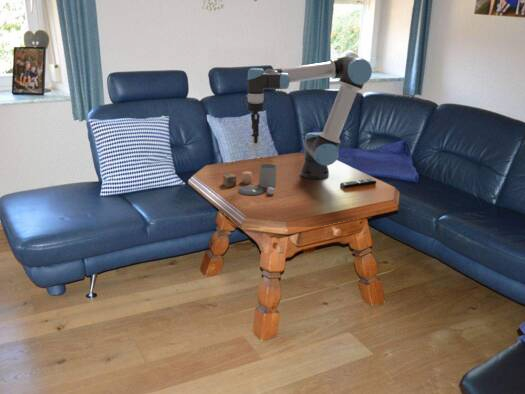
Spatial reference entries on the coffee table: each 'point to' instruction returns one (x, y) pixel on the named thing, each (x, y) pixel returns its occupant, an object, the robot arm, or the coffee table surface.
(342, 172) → the coffee table surface
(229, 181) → the walnut block
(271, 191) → the grey ball
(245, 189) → the coaster
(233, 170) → the coffee table surface
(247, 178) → the peach capsule shape
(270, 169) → the cup
